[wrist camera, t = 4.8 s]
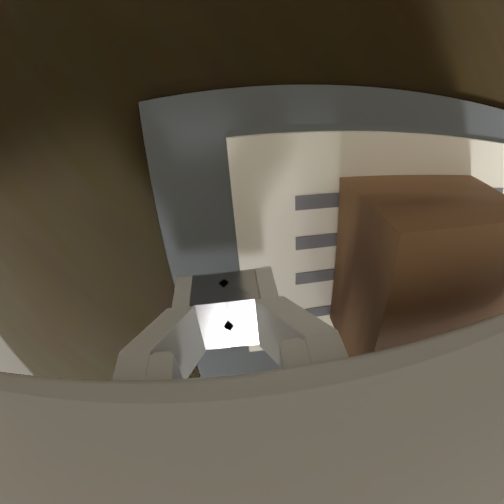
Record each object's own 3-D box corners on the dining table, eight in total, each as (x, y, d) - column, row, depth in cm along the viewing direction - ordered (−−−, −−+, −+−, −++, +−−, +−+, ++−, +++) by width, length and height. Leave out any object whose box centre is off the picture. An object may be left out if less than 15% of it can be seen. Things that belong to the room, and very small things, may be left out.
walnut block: (442, 294, 13) (486, 351, 10) (329, 317, 13) (360, 393, 9) (471, 175, 10) (541, 218, 6) (339, 177, 10) (400, 233, 6)
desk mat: (520, 342, 19) (522, 344, 18) (218, 424, 18) (218, 428, 17) (587, 140, 9) (590, 141, 9) (140, 101, 8) (138, 101, 8)
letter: (477, 302, 14) (479, 305, 14) (249, 348, 14) (249, 352, 13) (518, 145, 10) (521, 146, 9) (225, 137, 9) (226, 138, 9)
